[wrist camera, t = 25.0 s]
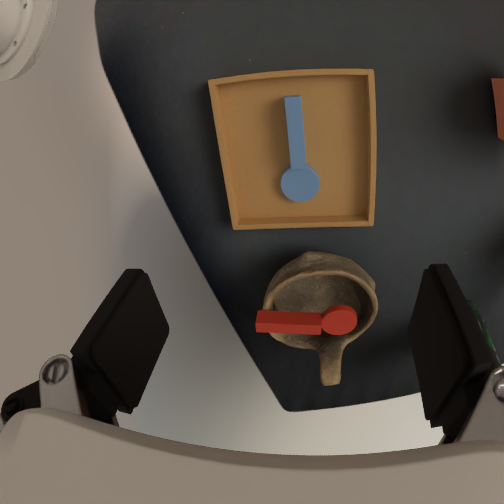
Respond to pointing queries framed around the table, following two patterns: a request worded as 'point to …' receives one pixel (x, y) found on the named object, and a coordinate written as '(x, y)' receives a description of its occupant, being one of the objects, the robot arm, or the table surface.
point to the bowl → (322, 303)
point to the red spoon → (307, 321)
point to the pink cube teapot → (499, 104)
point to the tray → (316, 146)
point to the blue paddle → (297, 156)
